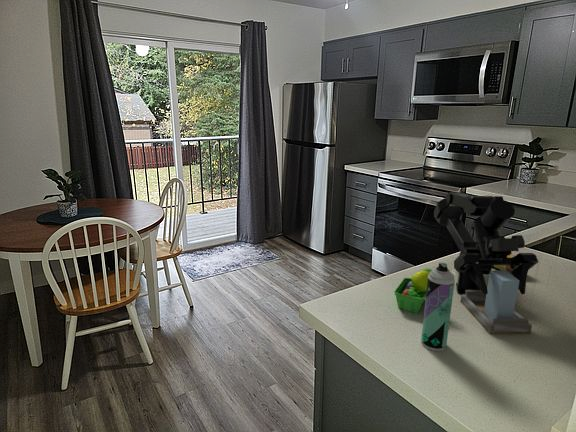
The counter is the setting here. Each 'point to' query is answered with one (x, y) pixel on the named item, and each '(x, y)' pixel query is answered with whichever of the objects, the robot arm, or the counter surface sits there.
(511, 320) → the shallow grey tray
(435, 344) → the spray can
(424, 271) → the fruit basket
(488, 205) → the robot arm
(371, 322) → the counter surface
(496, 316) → the blue-grey rectangular block
